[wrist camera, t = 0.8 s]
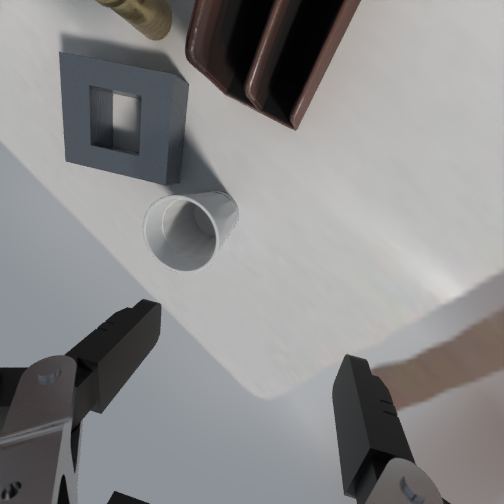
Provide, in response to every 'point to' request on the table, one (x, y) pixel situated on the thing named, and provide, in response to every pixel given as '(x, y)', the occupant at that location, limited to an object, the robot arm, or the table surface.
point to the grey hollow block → (101, 117)
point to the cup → (189, 229)
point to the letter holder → (267, 50)
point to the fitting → (144, 15)
